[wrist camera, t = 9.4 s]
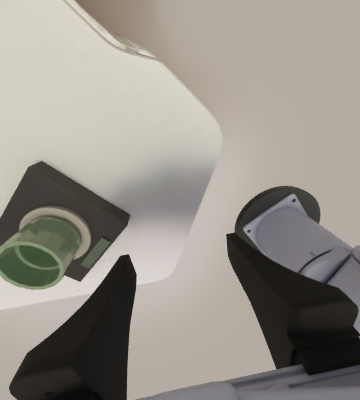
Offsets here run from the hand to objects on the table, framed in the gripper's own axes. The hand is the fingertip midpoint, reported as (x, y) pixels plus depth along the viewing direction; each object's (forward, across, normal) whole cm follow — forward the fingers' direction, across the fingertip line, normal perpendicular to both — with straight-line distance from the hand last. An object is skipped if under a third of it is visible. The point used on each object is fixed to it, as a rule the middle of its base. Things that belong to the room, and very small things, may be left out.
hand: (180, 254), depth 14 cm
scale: (+10, +13, +1) cm, 17 cm away
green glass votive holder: (+8, +13, +1) cm, 15 cm away
